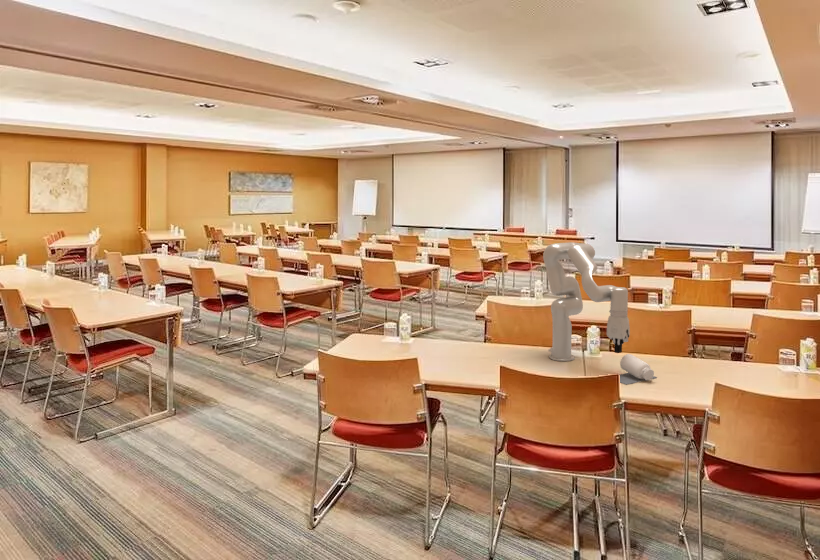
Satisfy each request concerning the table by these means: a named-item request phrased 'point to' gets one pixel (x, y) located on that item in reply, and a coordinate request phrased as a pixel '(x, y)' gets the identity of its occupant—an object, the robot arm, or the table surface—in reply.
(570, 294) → the robot arm
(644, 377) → the pill bottle
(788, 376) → the table surface
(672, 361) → the table surface
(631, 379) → the mat
